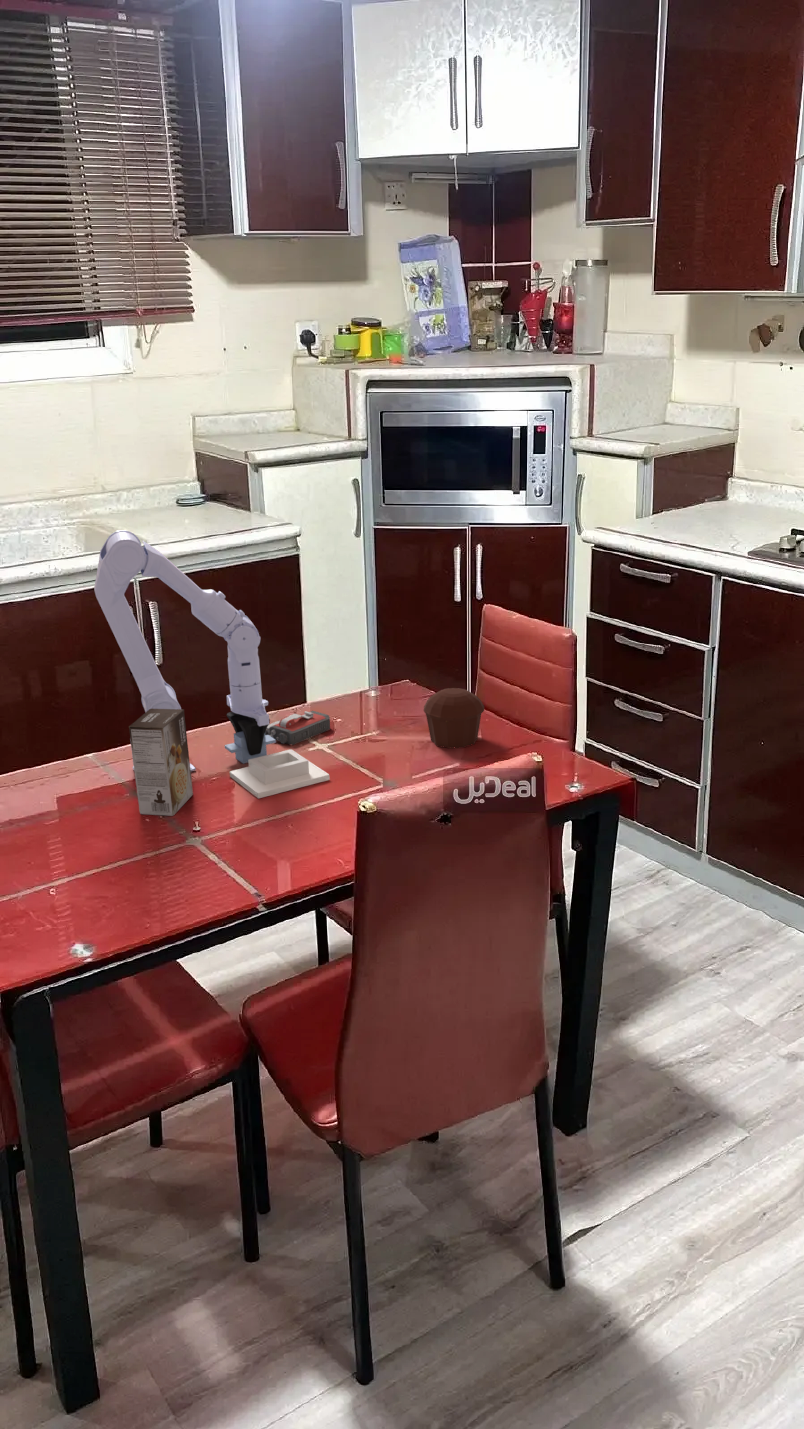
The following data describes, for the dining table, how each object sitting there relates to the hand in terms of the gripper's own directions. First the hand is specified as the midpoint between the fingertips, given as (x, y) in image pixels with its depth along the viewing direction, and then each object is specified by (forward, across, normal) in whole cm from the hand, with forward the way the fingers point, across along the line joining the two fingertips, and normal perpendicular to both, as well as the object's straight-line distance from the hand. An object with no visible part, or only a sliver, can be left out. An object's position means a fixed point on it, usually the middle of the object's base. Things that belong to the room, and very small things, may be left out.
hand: (250, 750), depth 218 cm
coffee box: (+2, -11, +21) cm, 24 cm away
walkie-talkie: (+2, +6, -10) cm, 12 cm away
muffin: (+2, -15, -36) cm, 39 cm away
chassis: (+1, -12, 0) cm, 12 cm away
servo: (+1, 0, 0) cm, 1 cm away
